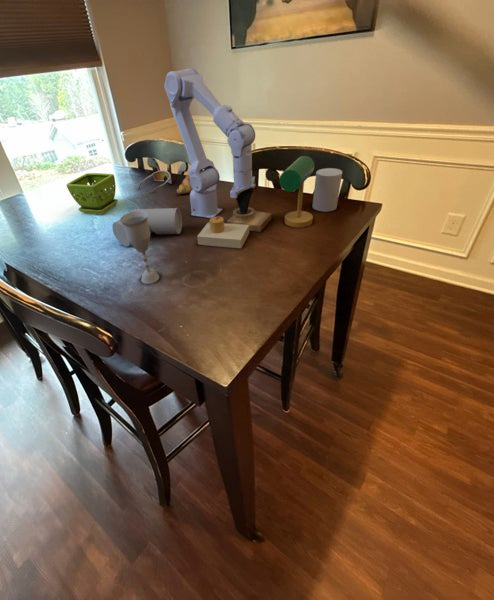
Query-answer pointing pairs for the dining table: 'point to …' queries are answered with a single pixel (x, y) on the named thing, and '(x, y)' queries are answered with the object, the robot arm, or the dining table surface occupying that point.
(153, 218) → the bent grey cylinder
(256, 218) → the switch box
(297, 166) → the bracelet display stand
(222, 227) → the dimmer knob
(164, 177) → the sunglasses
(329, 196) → the light grey upright cylinder
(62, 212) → the dining table surface
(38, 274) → the dining table surface
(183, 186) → the croissant
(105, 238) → the dining table surface
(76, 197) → the flower pot
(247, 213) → the button
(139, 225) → the chalice
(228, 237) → the dimmer panel
